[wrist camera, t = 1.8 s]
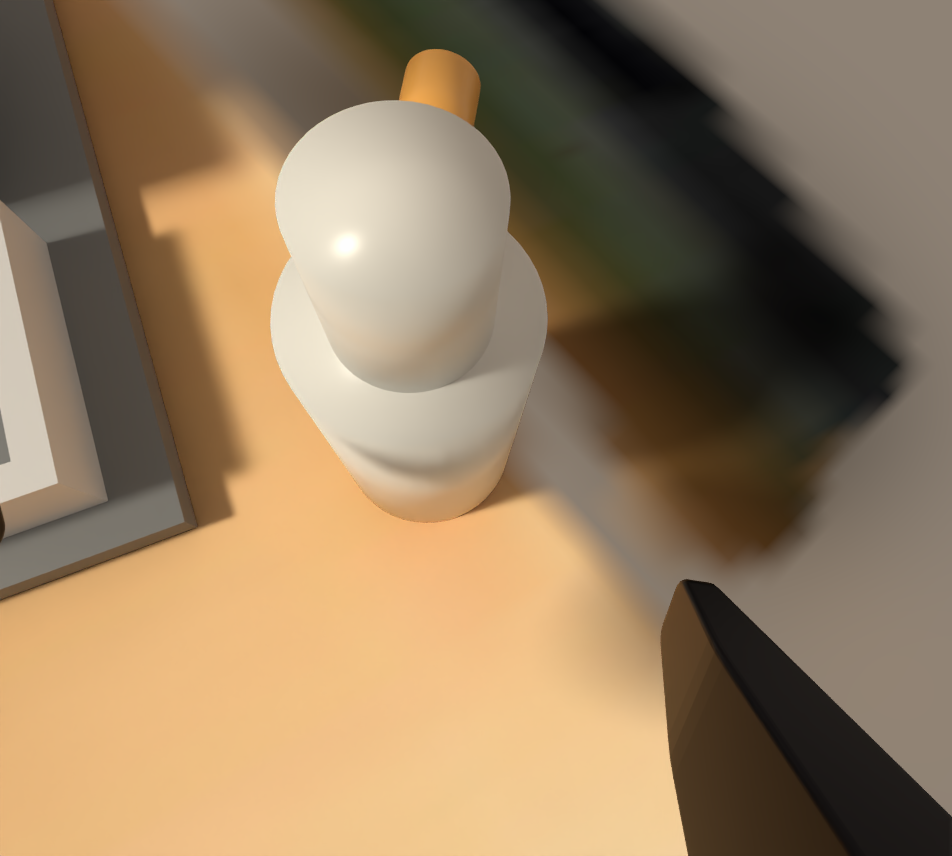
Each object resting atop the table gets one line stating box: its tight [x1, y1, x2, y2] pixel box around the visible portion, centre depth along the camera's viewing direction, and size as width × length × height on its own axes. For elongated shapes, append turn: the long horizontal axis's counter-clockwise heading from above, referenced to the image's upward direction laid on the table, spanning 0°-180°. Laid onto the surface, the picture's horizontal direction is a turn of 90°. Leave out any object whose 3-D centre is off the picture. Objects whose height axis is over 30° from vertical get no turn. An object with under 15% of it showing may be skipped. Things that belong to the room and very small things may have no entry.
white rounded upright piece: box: [270, 49, 548, 523], centre depth 15 cm, size 7×5×12 cm
